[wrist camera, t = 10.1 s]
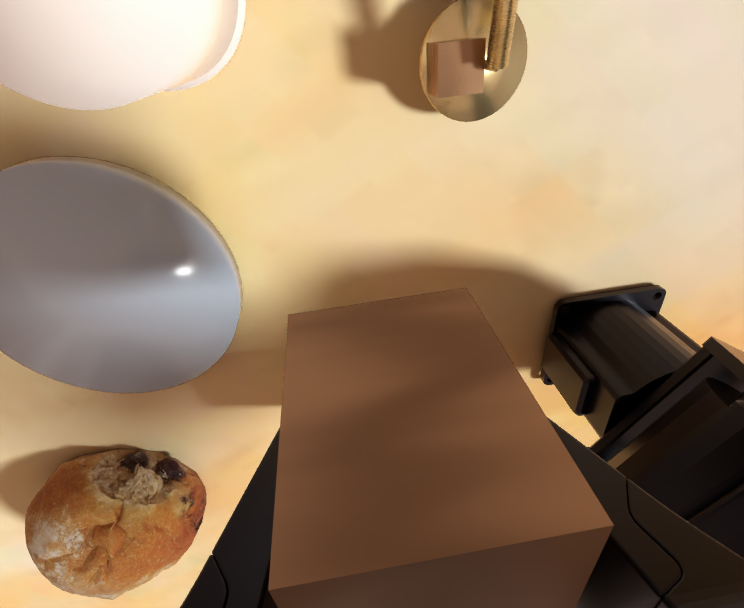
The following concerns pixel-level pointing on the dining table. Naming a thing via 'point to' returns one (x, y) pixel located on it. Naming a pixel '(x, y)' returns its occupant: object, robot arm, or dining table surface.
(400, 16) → the dining table surface
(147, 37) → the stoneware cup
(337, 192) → the dining table surface
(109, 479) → the bread roll
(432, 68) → the balance
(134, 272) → the dish
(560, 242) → the dining table surface
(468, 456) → the walnut block
